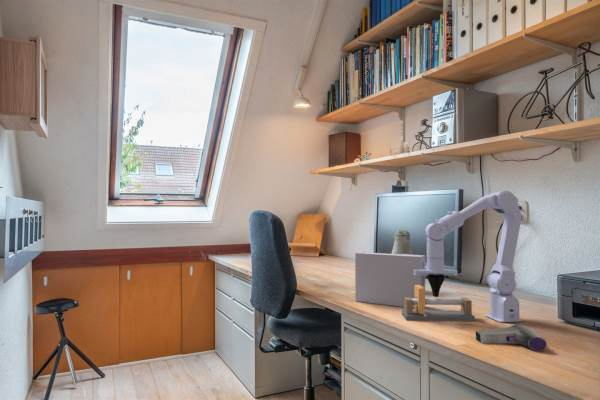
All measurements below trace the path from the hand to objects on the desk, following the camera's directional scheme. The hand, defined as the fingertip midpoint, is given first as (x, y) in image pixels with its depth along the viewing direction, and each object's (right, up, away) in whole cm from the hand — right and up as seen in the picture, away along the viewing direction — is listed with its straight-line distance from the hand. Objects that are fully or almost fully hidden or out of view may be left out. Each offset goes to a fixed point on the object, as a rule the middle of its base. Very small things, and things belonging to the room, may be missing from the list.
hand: (435, 296), depth 151 cm
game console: (-12, -8, +22) cm, 26 cm away
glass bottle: (0, -9, +50) cm, 51 cm away
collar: (-6, -5, 0) cm, 8 cm away
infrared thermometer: (+11, -7, -30) cm, 33 cm away
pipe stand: (0, -7, 0) cm, 7 cm away
